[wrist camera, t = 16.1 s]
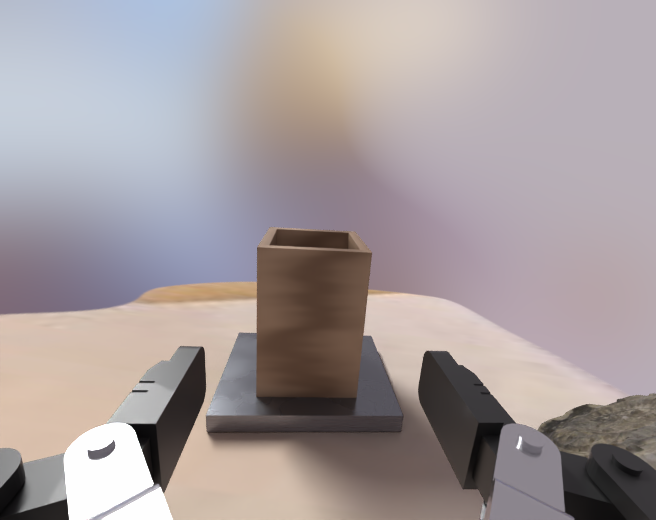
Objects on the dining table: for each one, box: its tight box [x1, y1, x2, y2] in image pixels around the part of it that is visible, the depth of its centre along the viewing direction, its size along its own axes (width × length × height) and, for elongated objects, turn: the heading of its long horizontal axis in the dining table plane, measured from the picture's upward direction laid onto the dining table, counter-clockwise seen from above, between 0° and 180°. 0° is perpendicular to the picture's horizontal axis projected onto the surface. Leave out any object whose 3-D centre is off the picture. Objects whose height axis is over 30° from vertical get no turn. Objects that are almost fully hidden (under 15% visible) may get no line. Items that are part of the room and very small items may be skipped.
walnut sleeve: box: [256, 227, 372, 398], centre depth 23 cm, size 7×7×10 cm
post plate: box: [206, 333, 403, 432], centre depth 23 cm, size 12×10×8 cm
